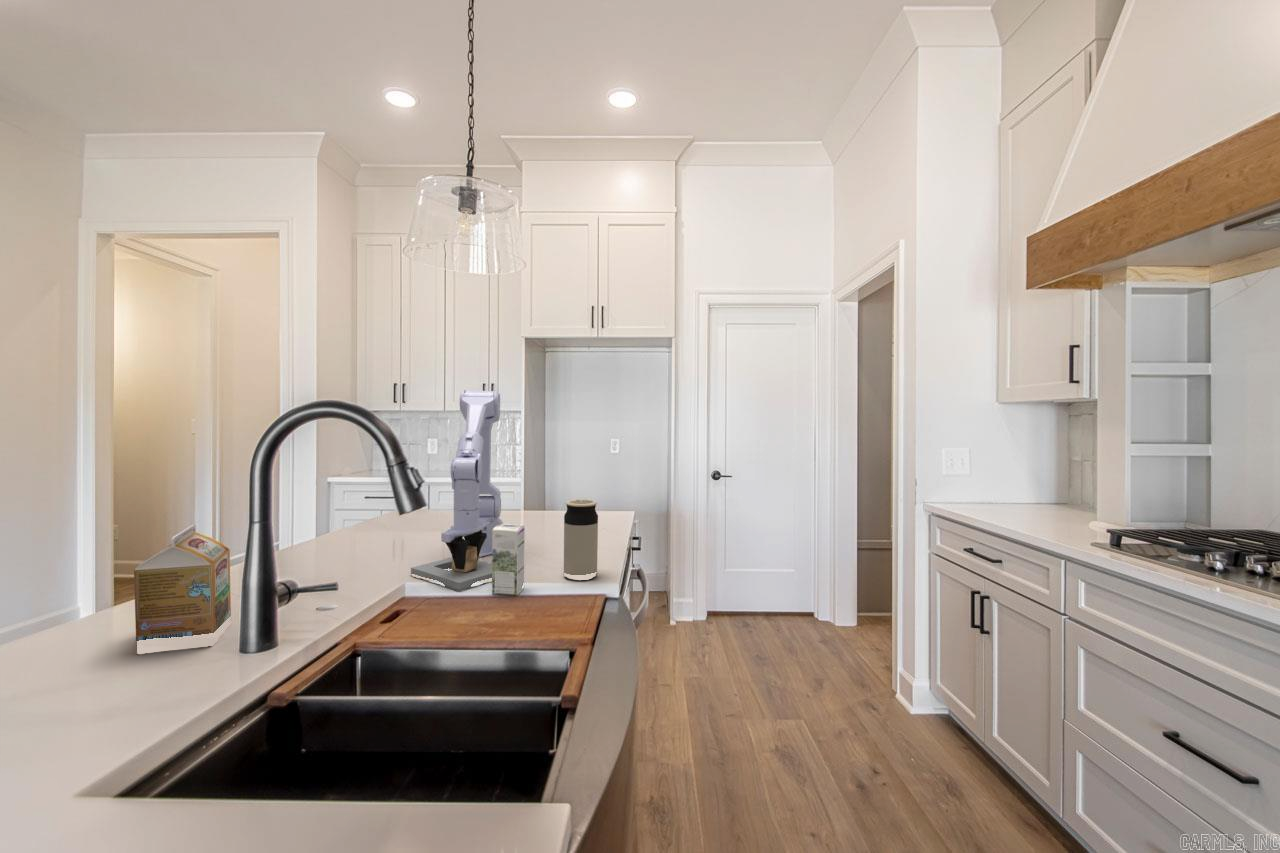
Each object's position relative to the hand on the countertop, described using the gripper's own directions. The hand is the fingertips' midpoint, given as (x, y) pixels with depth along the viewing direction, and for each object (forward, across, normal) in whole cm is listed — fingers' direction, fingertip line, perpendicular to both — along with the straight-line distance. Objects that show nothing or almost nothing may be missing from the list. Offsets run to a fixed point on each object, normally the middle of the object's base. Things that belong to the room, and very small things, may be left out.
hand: (466, 566), depth 141 cm
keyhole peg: (+2, 0, 0) cm, 2 cm away
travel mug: (+3, -13, +23) cm, 27 cm away
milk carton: (+3, +48, -20) cm, 53 cm away
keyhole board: (+3, 0, -2) cm, 4 cm away
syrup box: (+3, +3, +14) cm, 15 cm away
